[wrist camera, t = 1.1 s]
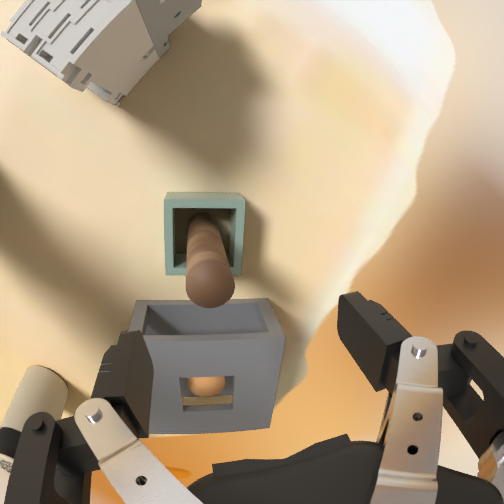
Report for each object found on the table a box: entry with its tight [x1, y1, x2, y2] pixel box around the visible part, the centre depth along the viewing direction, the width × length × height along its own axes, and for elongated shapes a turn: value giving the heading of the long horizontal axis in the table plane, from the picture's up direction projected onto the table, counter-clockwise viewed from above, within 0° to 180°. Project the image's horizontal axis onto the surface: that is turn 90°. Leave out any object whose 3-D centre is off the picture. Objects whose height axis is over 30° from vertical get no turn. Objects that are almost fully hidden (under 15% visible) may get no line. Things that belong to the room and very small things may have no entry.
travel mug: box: [0, 366, 69, 475], centre depth 28 cm, size 8×8×18 cm
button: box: [188, 376, 225, 397], centre depth 34 cm, size 4×4×3 cm
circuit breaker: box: [0, 0, 202, 106], centre depth 17 cm, size 8×14×15 cm, turn 138°
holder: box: [164, 192, 246, 275], centre depth 31 cm, size 8×8×4 cm
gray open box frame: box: [128, 298, 286, 434], centre depth 35 cm, size 16×16×8 cm
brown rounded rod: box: [186, 213, 235, 308], centre depth 26 cm, size 3×3×14 cm
